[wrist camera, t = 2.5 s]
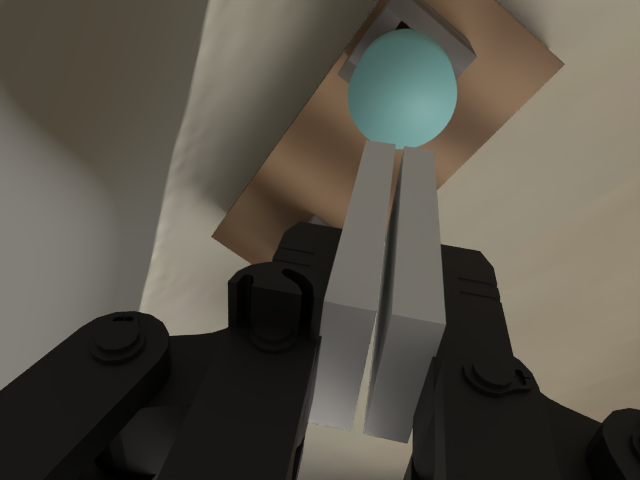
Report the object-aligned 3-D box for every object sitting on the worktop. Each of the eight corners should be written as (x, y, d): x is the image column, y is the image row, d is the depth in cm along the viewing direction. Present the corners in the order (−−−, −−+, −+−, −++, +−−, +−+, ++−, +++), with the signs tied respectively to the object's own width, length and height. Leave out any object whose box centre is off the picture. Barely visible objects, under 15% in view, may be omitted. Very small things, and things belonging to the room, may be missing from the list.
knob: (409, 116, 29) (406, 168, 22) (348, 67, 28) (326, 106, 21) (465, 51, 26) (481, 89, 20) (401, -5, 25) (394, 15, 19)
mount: (324, 281, 46) (305, 348, 38) (227, 213, 43) (186, 271, 36) (549, 51, 32) (589, 85, 25) (424, -63, 30) (426, -63, 23)
